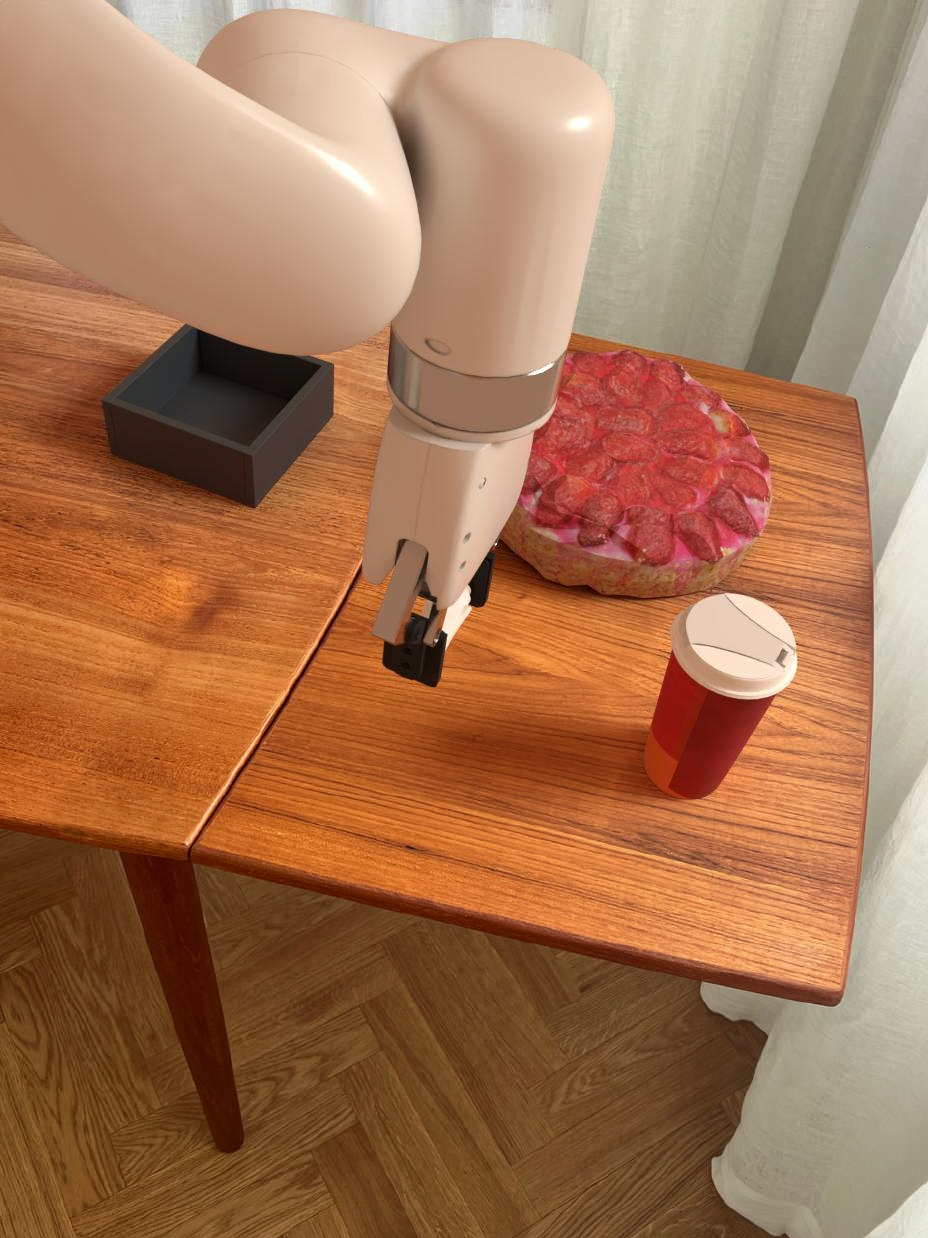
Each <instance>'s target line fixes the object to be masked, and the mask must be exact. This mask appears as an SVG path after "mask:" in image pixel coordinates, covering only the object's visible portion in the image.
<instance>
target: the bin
mask: <svg viewBox="0 0 928 1238" xmlns="http://www.w3.org/2000/svg"><path fill="white" fill-rule="evenodd" d="M100 402H101V406H102V414H103V418H104V424H105V429H106V435H107V441H108V446H109V452H110V454H112V455H115V456H118V457H119V458H123V459H125V460H127V461H131V462H133V463H136V464H139V465H140V466H144V467H146V468H148V469H152V470H154V471H156V472H159V473H162V474H165V475H168V476H170V477H172V478H175V479H178V480H180V481H183V482H186V483H188V484H190V485H194V486H196V487H199V488H201V489H204V490H207V491H209V492H211V493H214V494H218V495H220V496H222V497H225V498H228V499H231V500H234V501H237V502H238V503H241V504H243V505H246V506H249V507H251V508H255V509H256V508H257V506H258V505H259V504H260V503H261V502H262V501H263V500H264V498H265V497H266V496H267V495H268V494H269V493H270V491H271V490H272V489H273V488H274V487H275V486H276V484H277V483H278V481H280V480H281V478H282V477H283V476H284V474H286V472H287V471H288V470H289V469H290V468H291V466H292V465H293V464H294V463H295V462H296V460H297V459H298V458H299V457H300V456H301V455H302V454H303V452H304V451H305V450H306V449H307V447H308V446H309V445H310V444H311V443H312V442H313V440H315V438H316V437H317V435H318V434H319V433H320V432H321V431H322V430H323V428H325V426H327V424H328V423H329V422H330V420H331V419H332V418H333V417H334V415H335V414H334V413H335V410H334V409H335V408H334V407H335V363H334V362H330V361H327V360H324V359H322V358H318V357H316V356H314V355H309V356H298V355H288V354H278V353H272V352H268V351H264V350H260V349H256V348H252V347H247V346H244V345H240V344H237V343H234V342H231V341H228V340H226V339H223V338H220V337H218V336H215V335H212V334H210V333H207V332H204V331H202V330H200V329H197V328H195V327H192V326H190V325H187V324H185V323H183V324H182V326H181V327H180V328H178V329H177V330H176V332H174V333H173V334H172V335H171V336H170V337H169V338H168V339H167V340H165V341H164V342H163V343H162V344H161V345H160V346H159V347H158V348H156V350H154V351H153V352H152V353H151V354H149V356H148V357H147V358H145V359H144V360H143V361H142V362H141V363H140V364H138V366H137V367H136V368H135V369H133V370H132V371H131V372H130V373H129V374H128V375H127V376H125V378H124V379H122V381H120V382H119V383H118V384H117V385H116V386H114V387H113V388H112V389H111V390H110V391H109V392H108V393H106V395H105V396H103V397H102V398H101V400H100Z"/></svg>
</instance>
